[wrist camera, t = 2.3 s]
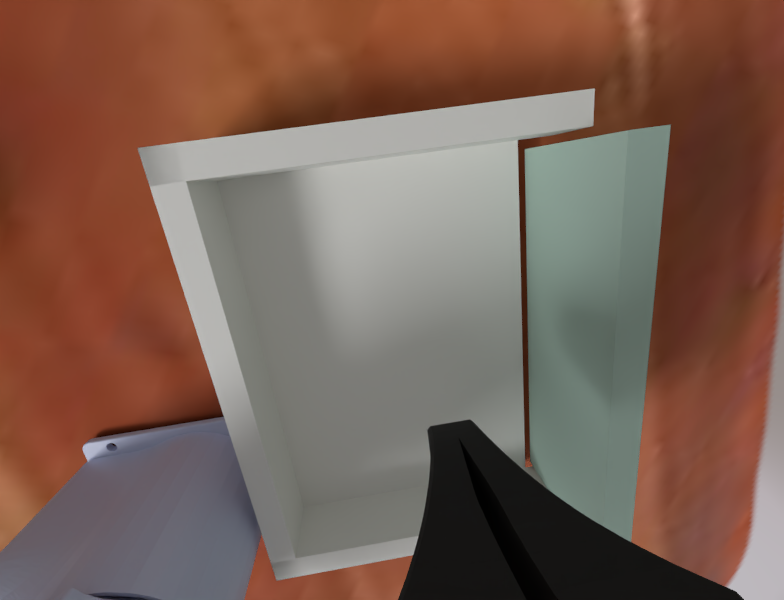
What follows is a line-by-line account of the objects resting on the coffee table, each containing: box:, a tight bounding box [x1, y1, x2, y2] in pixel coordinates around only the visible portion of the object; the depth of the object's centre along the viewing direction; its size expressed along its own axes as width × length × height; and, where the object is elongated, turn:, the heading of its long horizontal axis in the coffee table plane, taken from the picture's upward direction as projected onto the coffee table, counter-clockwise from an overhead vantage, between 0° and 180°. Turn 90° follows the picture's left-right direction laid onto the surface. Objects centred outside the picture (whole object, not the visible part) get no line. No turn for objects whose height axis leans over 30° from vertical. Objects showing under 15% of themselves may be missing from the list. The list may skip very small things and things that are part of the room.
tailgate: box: [525, 125, 671, 542], centre depth 16 cm, size 1×17×6 cm, turn 7°
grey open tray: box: [138, 88, 595, 580], centre depth 18 cm, size 16×20×4 cm
